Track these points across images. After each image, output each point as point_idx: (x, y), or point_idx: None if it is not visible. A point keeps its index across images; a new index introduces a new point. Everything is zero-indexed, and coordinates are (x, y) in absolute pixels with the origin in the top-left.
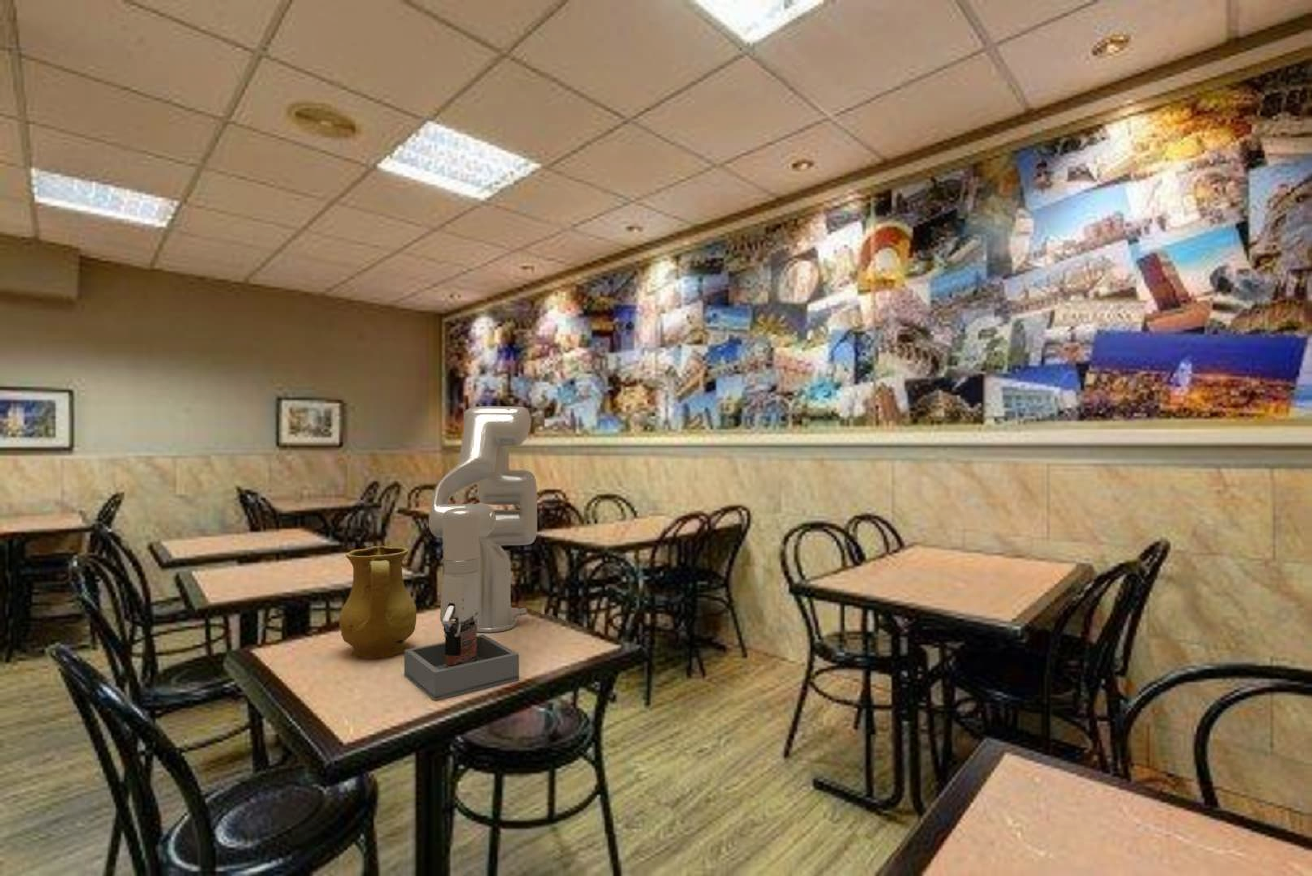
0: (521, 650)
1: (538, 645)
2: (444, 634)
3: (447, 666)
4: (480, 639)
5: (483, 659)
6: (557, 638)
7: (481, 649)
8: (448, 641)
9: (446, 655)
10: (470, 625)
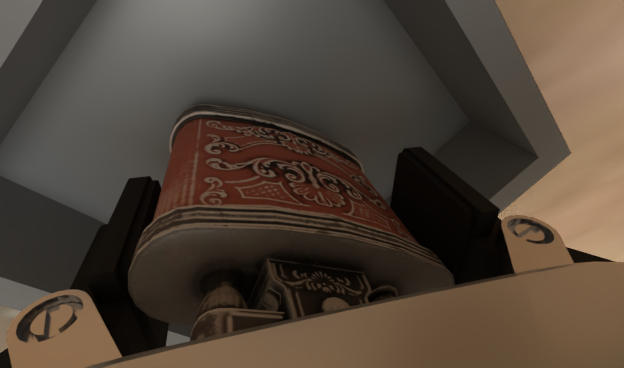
0: (536, 199)
1: (567, 223)
2: (12, 325)
3: (170, 140)
4: (526, 151)
5: (429, 151)
6: (609, 241)
7: (482, 142)
8: (78, 285)
9: (171, 156)
10: (437, 288)
